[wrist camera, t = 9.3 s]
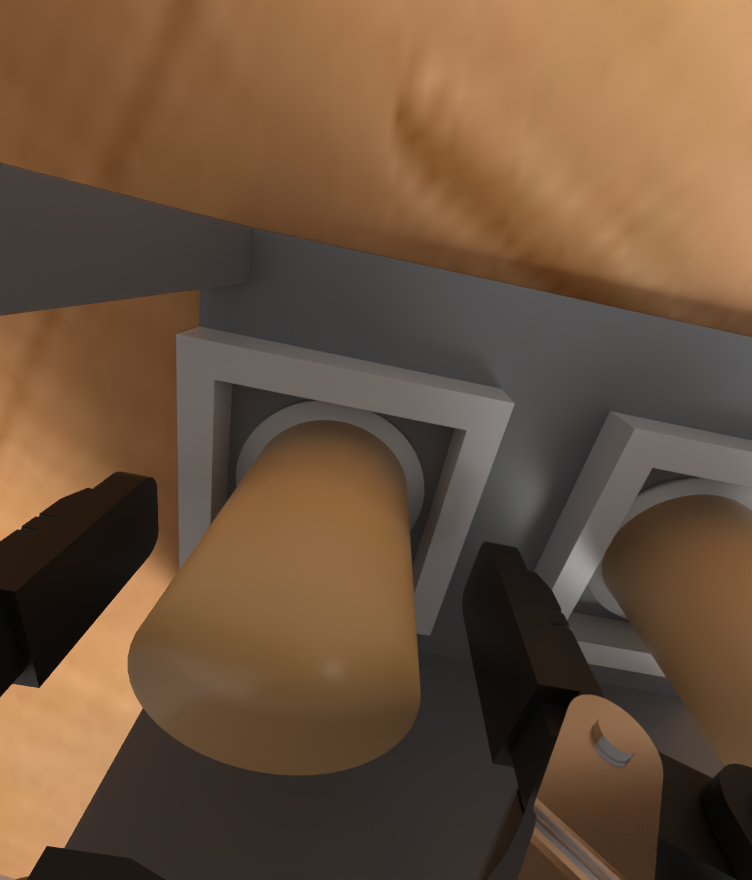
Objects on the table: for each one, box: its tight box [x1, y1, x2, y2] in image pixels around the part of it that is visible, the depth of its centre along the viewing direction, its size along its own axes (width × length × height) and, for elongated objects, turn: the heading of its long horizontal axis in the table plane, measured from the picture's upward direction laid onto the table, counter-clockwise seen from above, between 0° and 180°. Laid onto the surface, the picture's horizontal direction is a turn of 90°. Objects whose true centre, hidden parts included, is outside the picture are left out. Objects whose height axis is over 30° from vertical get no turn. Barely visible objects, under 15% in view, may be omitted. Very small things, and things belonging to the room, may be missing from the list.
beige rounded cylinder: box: [128, 420, 421, 776], centre depth 9 cm, size 5×5×6 cm
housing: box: [0, 163, 752, 880], centre depth 9 cm, size 19×14×8 cm
